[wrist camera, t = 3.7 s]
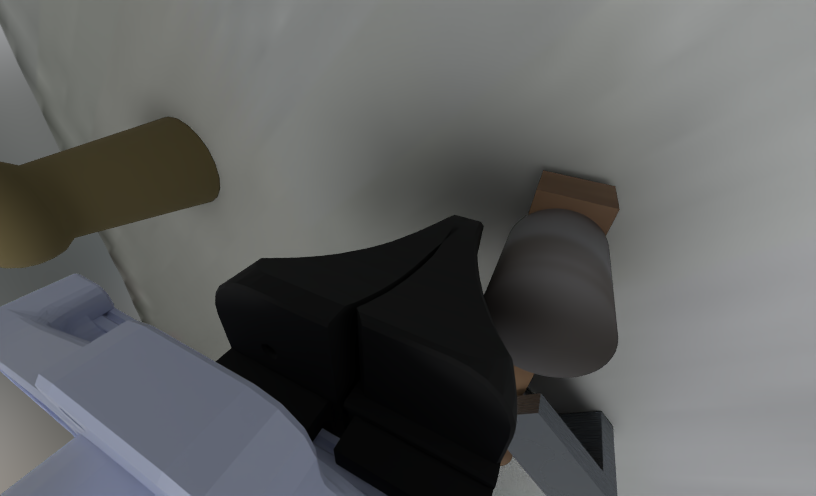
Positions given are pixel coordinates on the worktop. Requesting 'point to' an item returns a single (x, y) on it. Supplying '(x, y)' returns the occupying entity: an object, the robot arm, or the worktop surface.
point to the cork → (101, 188)
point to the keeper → (564, 449)
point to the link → (557, 283)
